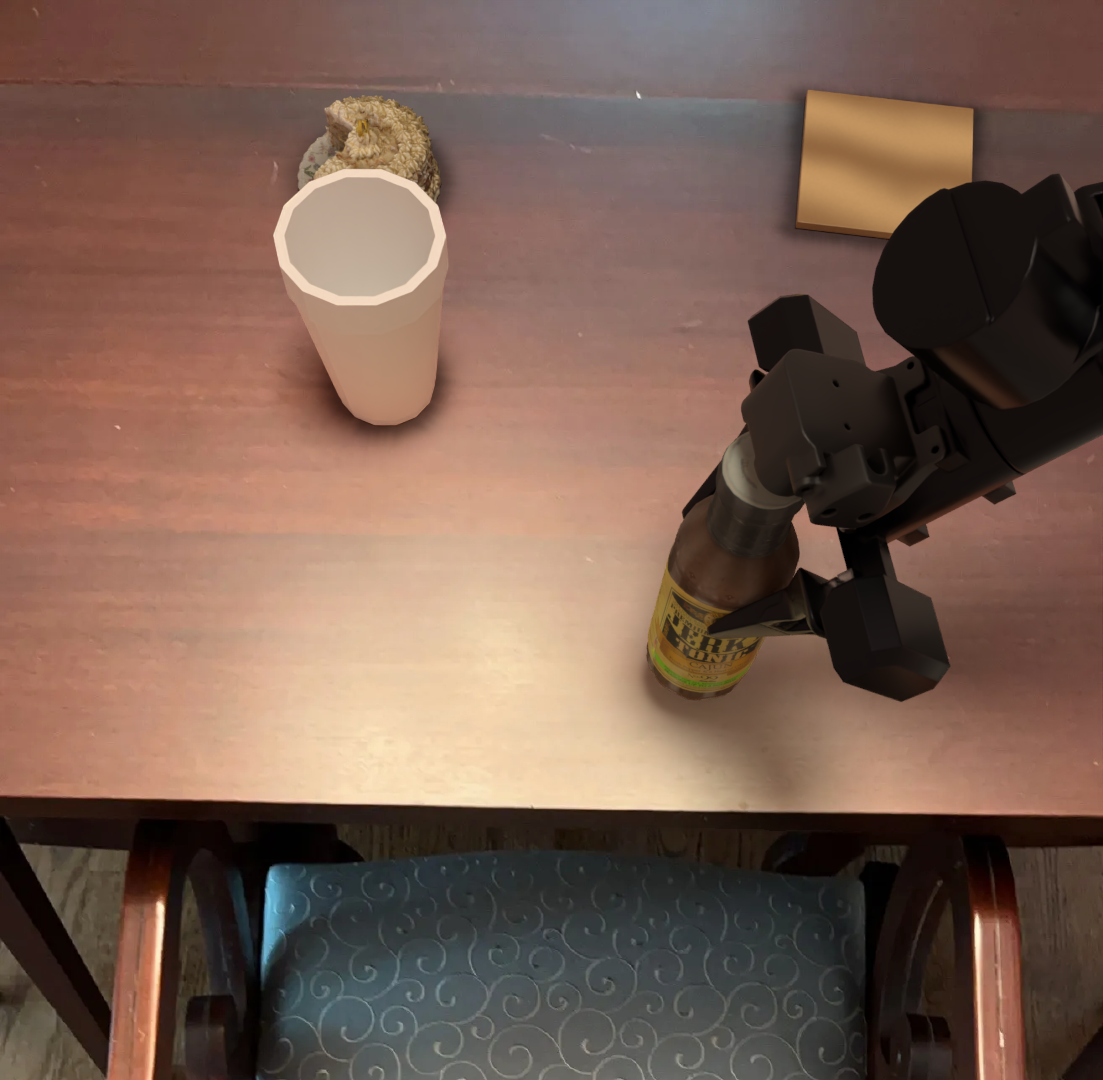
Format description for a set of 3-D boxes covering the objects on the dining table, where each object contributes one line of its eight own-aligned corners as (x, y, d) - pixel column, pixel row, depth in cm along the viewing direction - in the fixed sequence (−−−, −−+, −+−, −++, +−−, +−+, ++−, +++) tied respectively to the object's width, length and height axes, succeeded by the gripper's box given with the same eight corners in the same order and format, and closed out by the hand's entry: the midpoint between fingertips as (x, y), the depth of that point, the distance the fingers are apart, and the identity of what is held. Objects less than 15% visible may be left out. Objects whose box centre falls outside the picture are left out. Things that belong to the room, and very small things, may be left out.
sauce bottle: (636, 697, 68) (673, 517, 49) (652, 601, 69) (693, 391, 50) (747, 715, 67) (827, 541, 48) (760, 618, 69) (841, 413, 50)
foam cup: (482, 357, 78) (474, 205, 65) (419, 466, 75) (398, 330, 63) (355, 305, 79) (323, 146, 66) (288, 411, 76) (242, 266, 64)
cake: (441, 131, 84) (442, 66, 79) (441, 246, 81) (442, 186, 76) (300, 123, 83) (292, 55, 78) (295, 239, 80) (286, 177, 75)
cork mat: (805, 96, 85) (807, 88, 84) (970, 115, 85) (973, 108, 84) (795, 227, 81) (797, 221, 81) (967, 248, 81) (970, 241, 81)
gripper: (843, 137, 45) (558, 358, 55) (968, 563, 40) (626, 724, 50) (969, 261, 53) (700, 434, 63) (1088, 631, 48) (773, 758, 58)
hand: (699, 574), depth 58 cm, fingers closed on sauce bottle, 6 cm apart
